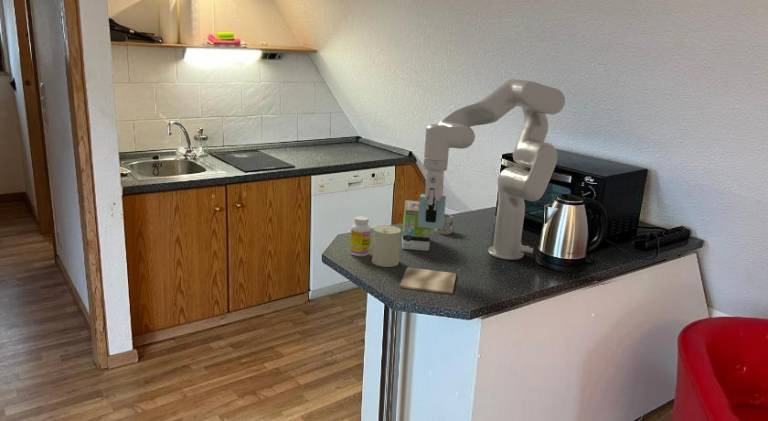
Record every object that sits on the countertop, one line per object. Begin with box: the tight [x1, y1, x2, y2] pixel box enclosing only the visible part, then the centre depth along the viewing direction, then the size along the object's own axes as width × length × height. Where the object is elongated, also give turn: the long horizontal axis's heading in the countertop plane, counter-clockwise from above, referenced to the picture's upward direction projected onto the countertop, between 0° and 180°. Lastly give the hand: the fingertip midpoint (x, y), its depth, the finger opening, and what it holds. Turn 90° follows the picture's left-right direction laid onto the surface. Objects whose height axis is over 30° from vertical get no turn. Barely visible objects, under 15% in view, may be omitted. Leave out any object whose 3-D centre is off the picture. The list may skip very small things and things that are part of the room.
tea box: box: [401, 199, 432, 252], centre depth 219 cm, size 15×10×15 cm
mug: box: [434, 213, 454, 236], centre depth 238 cm, size 10×7×7 cm, turn 12°
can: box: [371, 225, 402, 268], centre depth 199 cm, size 9×9×12 cm
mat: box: [399, 267, 457, 295], centre depth 186 cm, size 16×16×1 cm
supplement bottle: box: [349, 215, 372, 257], centre depth 205 cm, size 7×7×13 cm
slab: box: [418, 193, 447, 229], centre depth 192 cm, size 8×4×10 cm, turn 79°
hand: (431, 219), depth 193 cm, fingers closed on slab, 3 cm apart
